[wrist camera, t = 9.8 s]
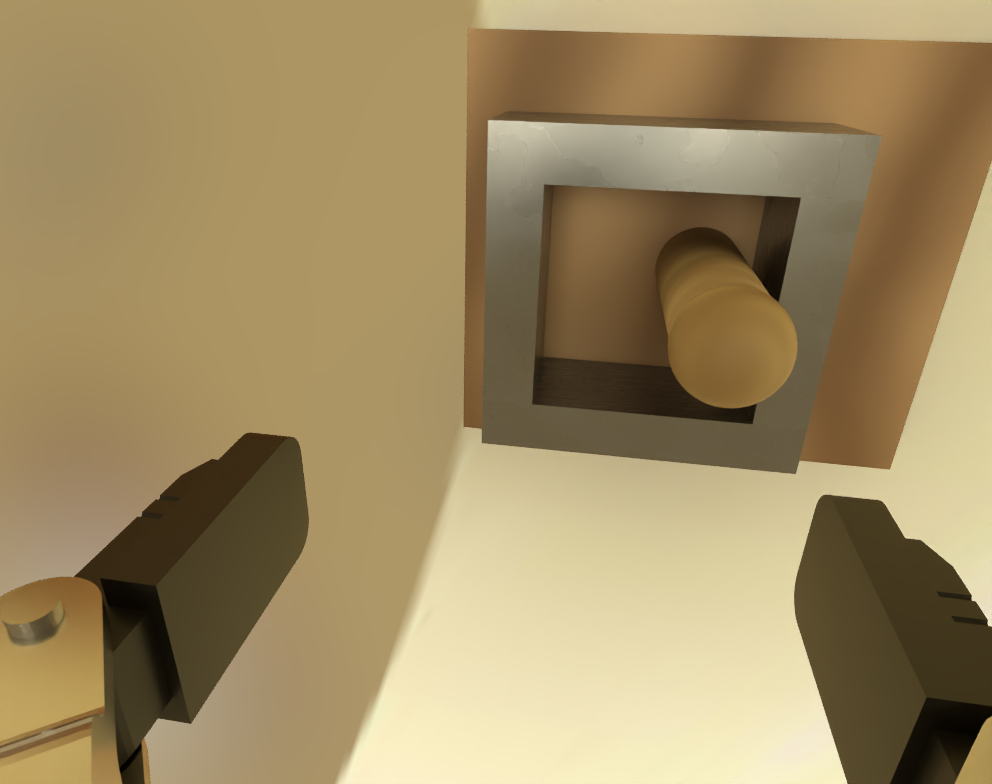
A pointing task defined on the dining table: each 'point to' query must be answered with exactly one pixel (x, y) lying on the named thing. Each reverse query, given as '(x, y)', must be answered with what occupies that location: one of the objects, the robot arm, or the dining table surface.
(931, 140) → the keeper board
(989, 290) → the dining table surface
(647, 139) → the steel link
